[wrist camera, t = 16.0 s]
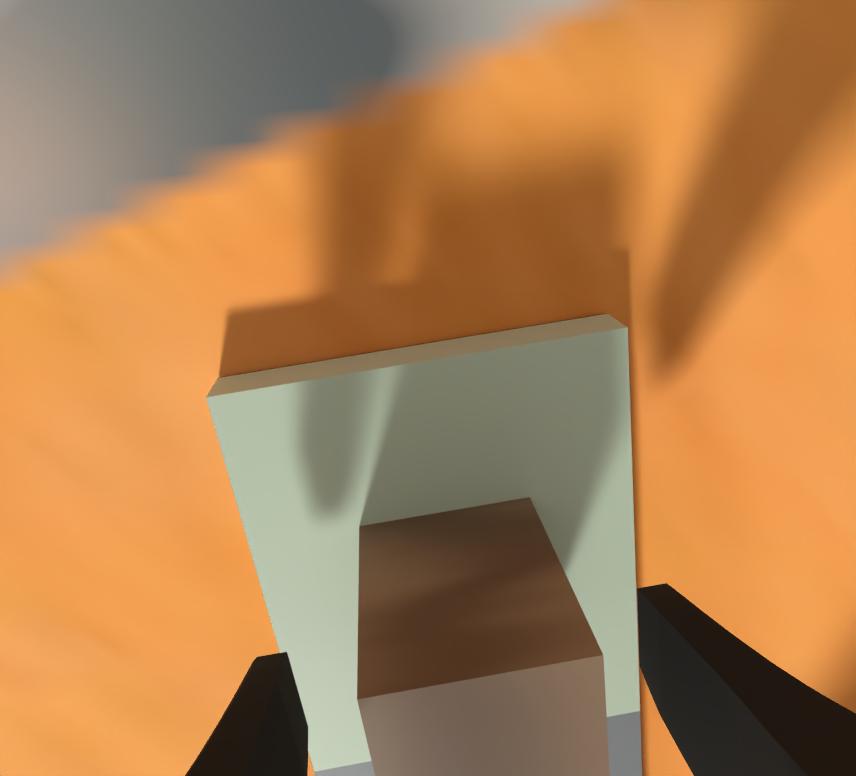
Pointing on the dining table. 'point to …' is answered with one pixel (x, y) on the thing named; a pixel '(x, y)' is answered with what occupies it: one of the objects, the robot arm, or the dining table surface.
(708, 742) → the robot arm
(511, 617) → the brown wooden block
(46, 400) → the dining table surface
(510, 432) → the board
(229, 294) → the dining table surface
